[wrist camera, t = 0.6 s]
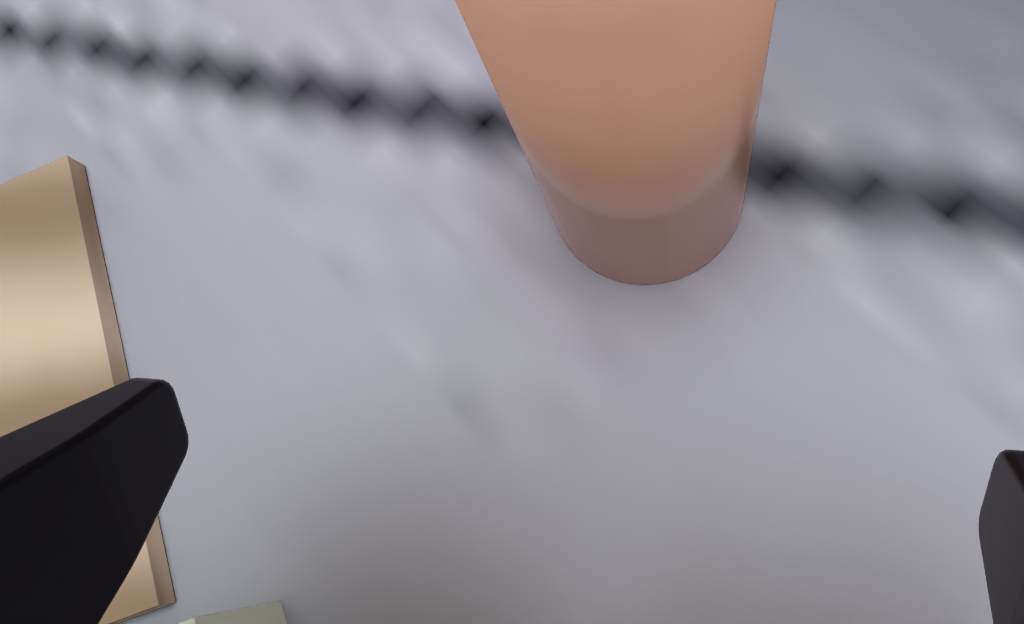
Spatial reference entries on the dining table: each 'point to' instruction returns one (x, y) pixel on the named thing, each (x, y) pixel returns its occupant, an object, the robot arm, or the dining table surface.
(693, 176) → the tan tapered rounded cylinder
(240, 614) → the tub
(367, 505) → the dining table surface
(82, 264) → the plate
